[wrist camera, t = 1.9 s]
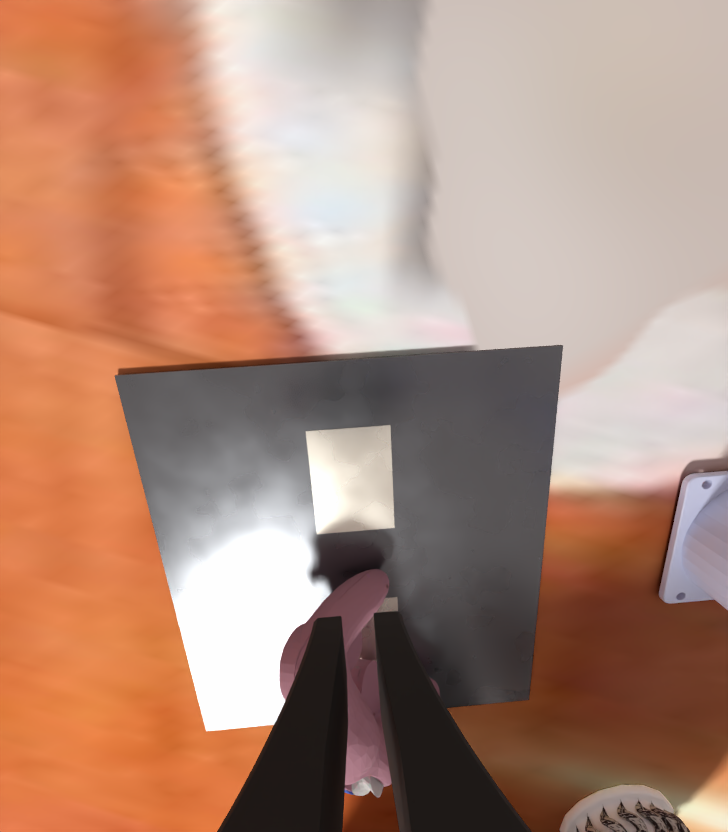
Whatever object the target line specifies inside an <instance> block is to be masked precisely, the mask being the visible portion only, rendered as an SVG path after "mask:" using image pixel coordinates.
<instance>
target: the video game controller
mask: <svg viewBox="0 0 728 832" xmlns="http://www.w3.org/2000/svg"><path fill="white" fill-rule="evenodd" d="M388 590H389V579H388V576H387V574H386V573H385V572H383V571H382V570H379V569H371V570H366V571H364V572H361V573H359V574H356V575H355V576H353V577H351V578H350V579H348V580H347V581H345V582H344V583H343V584H341V585H340V586H339V587H337V588H336V589H335V590H334V591H333V592H332V593H331V594H330V595H329V596H328V597H327V598H326V599H325V600H324V601H323V602H322V603H321V605H320V606H319V607H318V608H317V610H316V611H315V612H314V613H313V614H312V616H311V617H310V618H309V619H308V620H307V622H306V623H304V624H301V625H299V626H298V627H296V629H295V630H294V631H293V632H292V633H291V635H290V636H289V638H288V640H287V641H286V643H285V646H284V648H283V651H282V655H281V659H280V667H279V681H280V689H281V693H282V696H283V698H284V699H285V700H286V698H287V696H288V693H289V691H290V688H291V686H292V684H293V681H294V679H295V676H296V674H297V671H298V669H299V666H300V664H301V661H302V658H303V656H304V653H305V650H306V647H307V644H308V641H309V638H310V634H311V631H312V627H313V623H314V621H315V620H316V619H317V618H322V617H334V616H341V618H342V628H343V638H344V649H345V659H346V669H347V691H348V738H347V756H346V774H345V793H348V794H351V795H358V796H364V795H366V794H368V793H369V792H372V793H373V794H374V795H375V796H376V797H377V798H378V797H380V796H381V794H382V790H383V787H386V786H389V785H390V784H391V783H392V782H391V776H390V770H389V764H388V757H387V751H386V745H385V739H384V733H383V727H382V721H381V710H380V698H379V686H378V675H377V662H376V661H372V660H366V659H359V657H360V654H361V650H362V633H361V630H362V629H363V627H364V626H365V625H366V624H367V623H368V621H369V620H370V619H371V618H372V617H373V615H374V613H376V612H377V610H378V609H379V608H380V606H381V605H382V604H383V601H384V599H385V597H386V595H387V593H388ZM429 678H430V677H429ZM430 679H431V678H430ZM431 681H432V683H433V685H434V687H435V689H436V690H437V692H438V694H439V696H440V691H439V687H438V684H437V683H436V682H435V681H434V680H433V679H431Z"/></svg>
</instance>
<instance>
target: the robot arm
mask: <svg viewBox="0 0 728 832" xmlns="http://www.w3.org/2000/svg"><path fill="white" fill-rule="evenodd" d="M704 481H705V482H704ZM703 482H704V483H703ZM659 597H660V598H661V599H662V600H663V601H664V602H665V603H670V604H671V603H682V602H693V601H704V600H716V601H717V602H718V603H719V604H721V605H722V606H723V607H724V608H725V609H727V610H728V471H719V472H706V473H693V474H690V475H688V476H686V477H685V478H684V479H683V482H682V486H681V490H680V495H679V500H678V505H677V509H676V514H675V519H674V524H673V528H672V533H671V538H670V542H669V547H668V552H667V557H666V561H665V566H664V571H663V576H662V580H661V585H660V590H659ZM374 629H375V644H376V660H377V675H378V686H379V698H380V710H381V721H382V727H383V733H384V739H385V745H386V751H387V757H388V764H389V770H390V776H391V782H392V788H393V794H394V800H395V806H396V812H397V818H398V824H399V830H400V832H532V831H531V830H530V829H529V828H528V826H527V825H526V824H525V823H524V821H523V820H522V819H521V817H520V816H519V815H518V813H517V812H516V811H515V809H514V808H513V807H512V805H511V804H510V802H509V801H508V800H507V798H506V797H505V796H504V794H503V793H502V791H501V790H500V789H499V787H498V786H497V785H496V783H495V782H494V780H493V779H492V777H491V776H490V774H489V773H488V772H487V770H486V769H485V767H484V766H483V764H482V763H481V762H480V760H479V759H478V757H477V756H476V754H475V753H474V751H473V750H472V748H471V746H470V745H469V743H468V742H467V740H466V739H465V737H464V736H463V734H462V732H461V731H460V729H459V728H458V726H457V724H456V723H455V721H454V719H453V718H452V716H451V715H450V713H449V711H448V710H447V708H446V706H445V704H444V703H443V701H442V699H441V698H440V696H439V694H438V692H437V690H436V689H435V687H434V685H433V683H432V681H431V679H430V678H429V676H428V674H427V672H426V670H425V668H424V666H423V664H422V662H421V660H420V658H419V656H418V654H417V652H416V650H415V648H414V646H413V644H412V641H411V639H410V637H409V634H408V632H407V629H406V627H405V624H404V621H403V618H402V615H401V614H400V613H399V612H398V611H390V612H379V613H374ZM347 738H348V691H347V669H346V659H345V649H344V638H343V628H342V618H341V616H334V617H322V618H317V619H316V620H315V621H314V623H313V627H312V631H311V634H310V638H309V641H308V644H307V647H306V650H305V653H304V656H303V658H302V661H301V664H300V666H299V669H298V671H297V674H296V676H295V679H294V681H293V684H292V686H291V688H290V691H289V693H288V696H287V698H286V700H285V703H284V705H283V707H282V709H281V712H280V714H279V716H278V718H277V720H276V722H275V724H274V726H273V728H272V731H271V733H270V735H269V737H268V739H267V741H266V743H265V745H264V747H263V749H262V751H261V753H260V755H259V757H258V759H257V761H256V763H255V765H254V767H253V769H252V771H251V773H250V774H249V776H248V778H247V780H246V782H245V784H244V786H243V787H242V789H241V791H240V793H239V795H238V796H237V798H236V800H235V802H234V804H233V806H232V807H231V809H230V811H229V813H228V814H227V816H226V818H225V819H224V821H223V823H222V824H221V826H220V828H219V829H218V831H217V832H342V827H343V809H344V792H345V774H346V756H347Z"/></svg>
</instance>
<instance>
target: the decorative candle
mask: <svg viewBox="0 0 728 832" xmlns="http://www.w3.org/2000/svg"><path fill="white" fill-rule="evenodd" d="M559 830H560V832H690V831H689V829H688V828H687V827H686V826H685V824H684V823H683V822H682V820H681V819H680V818H679V817H677V816H676V815H674V810H673V807H672V805H671V804H670V802H669V801H668V800H667V799H666V797H665V796H664V795H663V794H662V793H661V792H660V791H659V790H656V789H653V788H650V787H648V786H645V785H618V786H614V787H610V788H606V789H602V790H598V791H597V792H595V793H593V794H591V795H589V796H587V797H585V798H583V799H582V800H580V801H578V802H577V803H576V804H575V805H574V806H573V807H572V808H571V809H570V810H569V811H568V812H567V813H566V814H565V816H564V819H563V821H562V824H561V826H560V828H559Z"/></svg>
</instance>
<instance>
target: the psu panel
mask: <svg viewBox="0 0 728 832" xmlns="http://www.w3.org/2000/svg"><path fill="white" fill-rule="evenodd" d="M562 350H563V346H562V345H554V346H539V347H526V348H510V349H494V350H479V351H464V352H449V353H434V354H419V355H404V356H389V357H374V358H359V359H345V360H330V361H315V362H300V363H285V364H270V365H255V366H240V367H225V368H210V369H195V370H180V371H165V372H150V373H135V374H120V375H115V379H116V383H117V387H118V391H119V395H120V399H121V403H122V406H123V410H124V414H125V418H126V422H127V426H128V430H129V434H130V437H131V441H132V445H133V449H134V453H135V457H136V461H137V464H138V468H139V472H140V476H141V480H142V484H143V488H144V492H145V495H146V499H147V503H148V507H149V511H150V515H151V519H152V523H153V526H154V530H155V534H156V538H157V542H158V546H159V550H160V554H161V557H162V561H163V565H164V569H165V573H166V577H167V581H168V585H169V588H170V592H171V596H172V600H173V604H174V608H175V612H176V615H177V619H178V623H179V627H180V631H181V635H182V639H183V643H184V646H185V650H186V654H187V658H188V662H189V666H190V670H191V674H192V677H193V681H194V685H195V689H196V693H197V697H198V701H199V705H200V708H201V712H202V716H203V720H204V724H205V728H206V731H213V730H224V729H234V728H244V727H255V726H265V725H274V724H275V722H276V720H277V718H278V716H279V714H280V712H281V709H282V707H283V705H284V703H285V699H284V698H283V696H282V693H281V689H280V681H279V667H280V659H281V655H282V651H283V648H284V646H285V643H286V641H287V640H288V638H289V636H290V635H291V633H292V632H293V631H294V630H295V629H296V627H298V626H299V625H301V624H304V623H306V622H307V620H308V619H309V618H310V617H311V616H312V614H313V613H314V612H315V611H316V610H317V608H318V607H319V606H320V605H321V603H322V602H323V601H324V600H325V599H326V598H327V597H328V596H329V595H330V594H331V593H332V592H333V591H334V590H335V589H336V588H337V587H339V586H340V585H341V584H343V583H344V582H345V581H347V580H348V579H350V578H351V577H353V576H355V575H356V574H359V573H361V572H364V571H366V570H371V569H379V570H382V571H383V572H385V573H386V574H387V576H388V579H389V590H388V593H387V595H386V597H385V599H384V601H383V604H382V605H381V606H380V608H379V609H378V610H377V612H376V613H379V612H390V611H398V612H399V613H400V614H401V615H402V618H403V621H404V624H405V627H406V629H407V632H408V634H409V637H410V639H411V641H412V644H413V646H414V648H415V650H416V652H417V654H418V656H419V658H420V660H421V662H422V664H423V666H424V668H425V670H426V672H427V674H428V676H429V677H430V678H431V679H433V680H434V681H435V682H436V683H437V684H438V687H439V691H440V698H441V699H442V701H443V703H444V704H445V706H446V708H450V707H460V706H471V705H481V704H491V703H502V702H512V701H522V700H529V694H530V683H531V673H532V663H533V652H534V642H535V631H536V621H537V611H538V600H539V590H540V579H541V569H542V559H543V548H544V538H545V527H546V517H547V507H548V496H549V486H550V475H551V465H552V455H553V444H554V434H555V423H556V413H557V403H558V392H559V382H560V371H561V361H562ZM361 633H362V650H361V654H360V657H359V659H366V660H372V661H376V662H377V660H376V644H375V629H374V615H373V617H372V618H371V619H370V620H369V621H368V623H367V624H366V625H365V626H364V627H363V629H362V630H361Z"/></svg>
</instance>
